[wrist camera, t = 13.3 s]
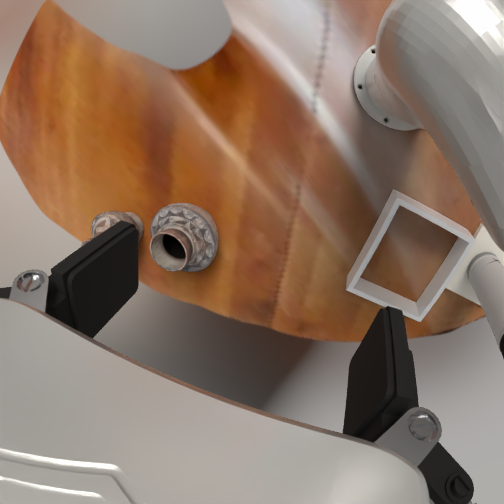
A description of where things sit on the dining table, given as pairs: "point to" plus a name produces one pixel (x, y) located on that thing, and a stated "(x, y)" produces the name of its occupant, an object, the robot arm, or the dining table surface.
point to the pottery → (171, 235)
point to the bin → (440, 278)
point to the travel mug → (489, 291)
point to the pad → (460, 279)
